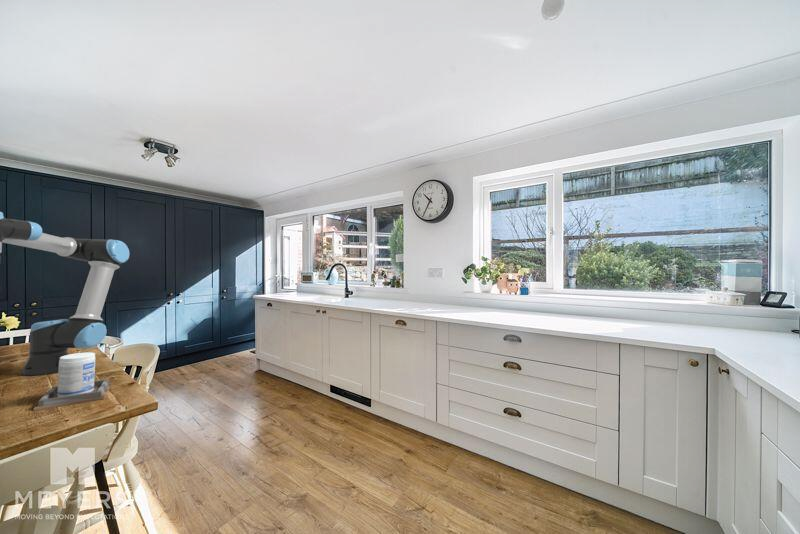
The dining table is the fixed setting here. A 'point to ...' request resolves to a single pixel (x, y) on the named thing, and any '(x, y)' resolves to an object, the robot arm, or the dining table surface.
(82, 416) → the dining table surface
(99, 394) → the dock
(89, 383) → the supplement tub
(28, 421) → the dining table surface
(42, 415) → the dining table surface
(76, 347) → the robot arm
